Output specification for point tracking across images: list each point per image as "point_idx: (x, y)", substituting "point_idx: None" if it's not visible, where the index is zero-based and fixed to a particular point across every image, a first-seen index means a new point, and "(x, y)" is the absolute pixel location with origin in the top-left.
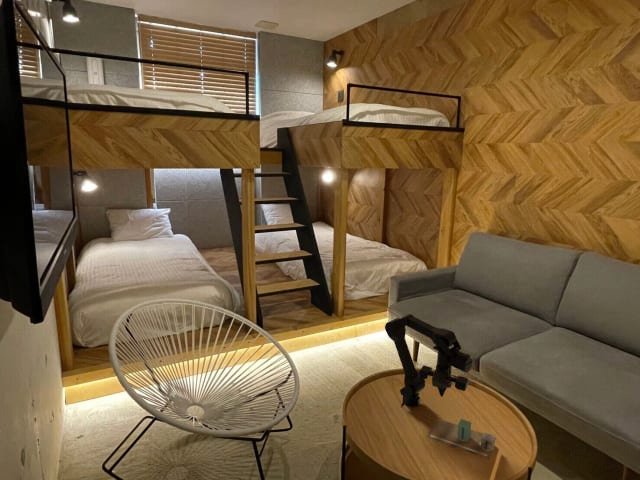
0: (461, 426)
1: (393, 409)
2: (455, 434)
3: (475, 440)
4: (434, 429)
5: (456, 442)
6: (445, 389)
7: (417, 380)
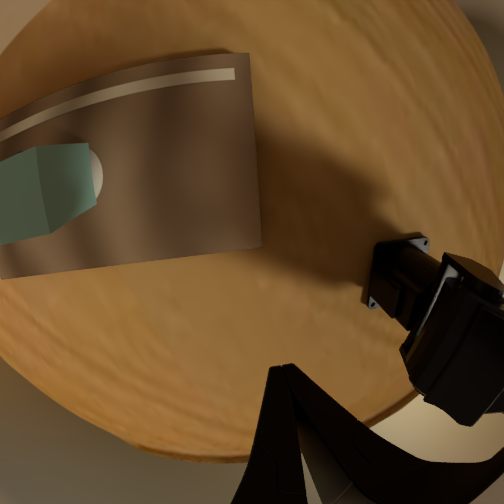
0: (19, 154)
1: (442, 202)
2: (112, 176)
3: None
4: (234, 137)
5: (85, 117)
6: (247, 482)
7: (492, 362)
